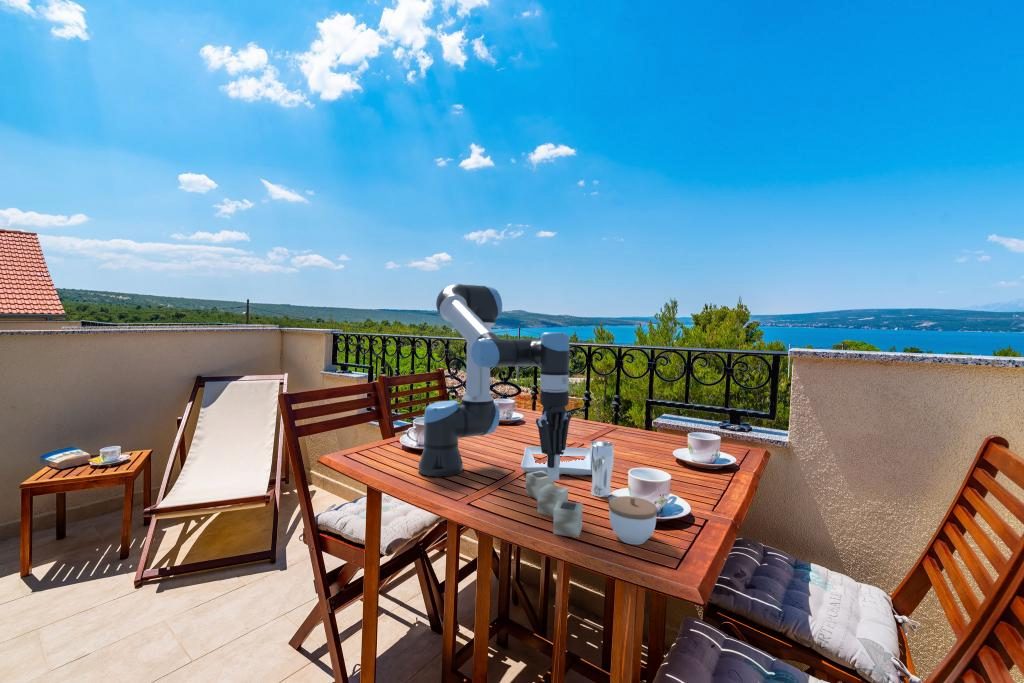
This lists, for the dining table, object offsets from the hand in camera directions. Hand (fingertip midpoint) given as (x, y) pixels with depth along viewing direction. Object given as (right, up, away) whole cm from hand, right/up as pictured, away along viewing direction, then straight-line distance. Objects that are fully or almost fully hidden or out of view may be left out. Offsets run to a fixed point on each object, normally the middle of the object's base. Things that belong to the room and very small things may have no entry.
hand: (553, 478), depth 108 cm
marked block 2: (+2, -9, -10) cm, 14 cm away
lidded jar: (+17, -9, -14) cm, 24 cm away
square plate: (+6, -9, +40) cm, 42 cm away
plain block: (0, -9, 0) cm, 9 cm away
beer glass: (+16, -9, +13) cm, 22 cm away
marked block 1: (-3, -9, +12) cm, 15 cm away
